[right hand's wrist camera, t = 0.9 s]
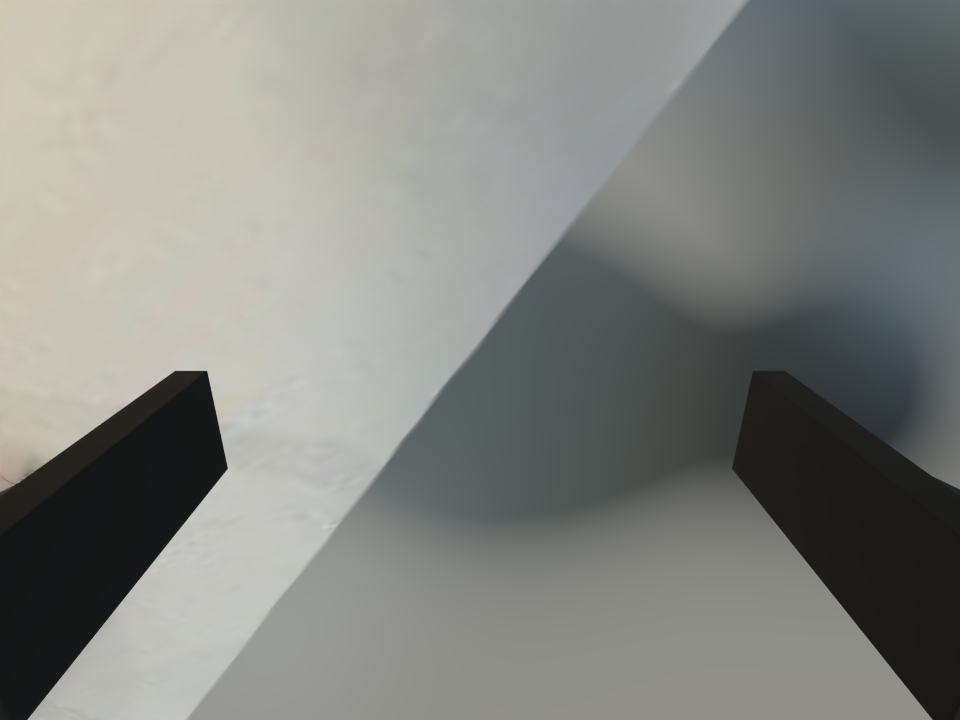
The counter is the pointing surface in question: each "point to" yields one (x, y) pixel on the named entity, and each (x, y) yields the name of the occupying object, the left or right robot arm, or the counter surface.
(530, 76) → the counter surface
